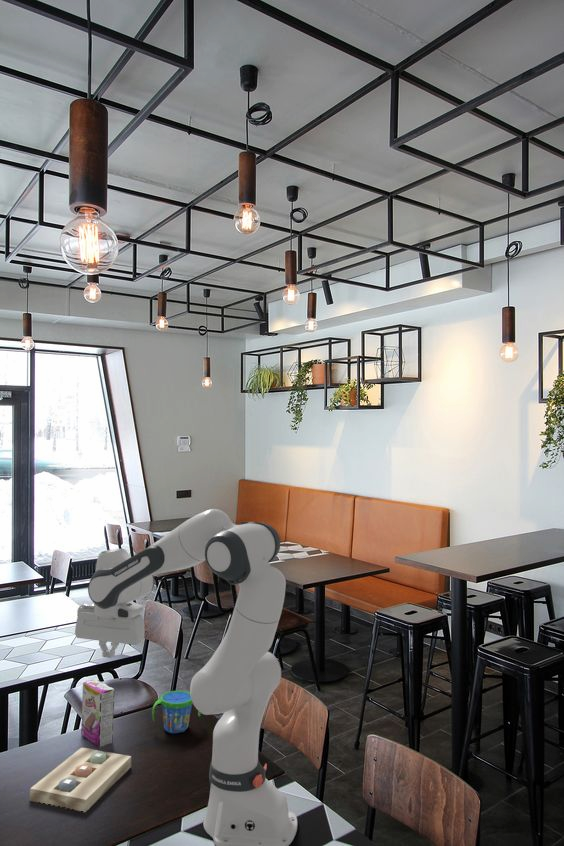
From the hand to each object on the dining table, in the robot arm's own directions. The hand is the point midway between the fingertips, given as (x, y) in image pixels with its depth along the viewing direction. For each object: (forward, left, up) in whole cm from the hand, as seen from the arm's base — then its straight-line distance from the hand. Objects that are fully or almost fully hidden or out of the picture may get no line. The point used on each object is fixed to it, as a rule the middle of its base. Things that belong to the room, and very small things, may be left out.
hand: (108, 656), depth 166 cm
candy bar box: (+12, -15, -31) cm, 37 cm away
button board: (+2, +7, -31) cm, 32 cm away
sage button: (+2, 0, -31) cm, 31 cm away
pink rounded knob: (+2, +7, -31) cm, 32 cm away
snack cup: (-8, -29, -31) cm, 43 cm away
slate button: (+2, +14, -31) cm, 34 cm away
